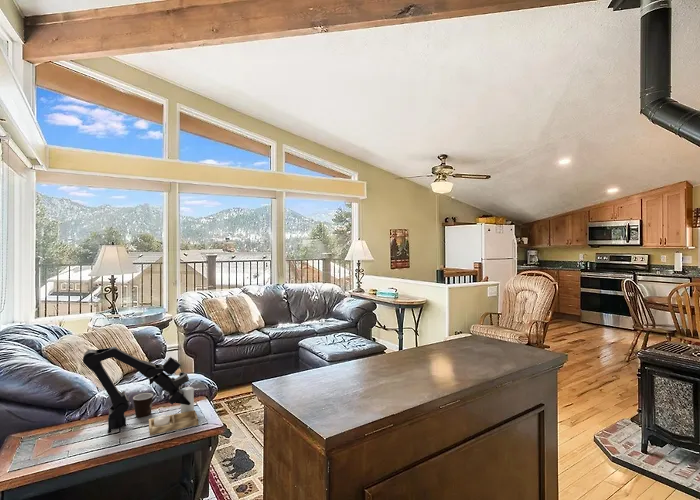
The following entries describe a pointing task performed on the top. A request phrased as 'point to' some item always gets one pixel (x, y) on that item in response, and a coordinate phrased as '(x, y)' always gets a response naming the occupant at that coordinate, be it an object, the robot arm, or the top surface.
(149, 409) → the coffee mug
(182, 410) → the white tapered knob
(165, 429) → the open wooden box
